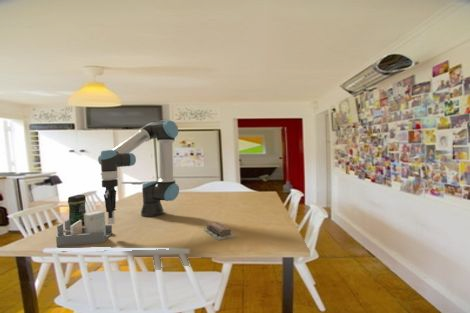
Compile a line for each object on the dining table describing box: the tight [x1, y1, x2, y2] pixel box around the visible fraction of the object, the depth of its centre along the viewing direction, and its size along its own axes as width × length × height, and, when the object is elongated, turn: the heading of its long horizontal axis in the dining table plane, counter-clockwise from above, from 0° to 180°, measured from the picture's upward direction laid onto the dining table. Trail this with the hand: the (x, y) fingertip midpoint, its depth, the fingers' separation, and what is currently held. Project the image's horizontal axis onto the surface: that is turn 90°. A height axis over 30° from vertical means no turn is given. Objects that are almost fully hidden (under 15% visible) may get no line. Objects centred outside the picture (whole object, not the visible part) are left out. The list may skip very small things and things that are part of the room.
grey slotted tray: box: [55, 218, 113, 247], centre depth 135 cm, size 22×14×10 cm, turn 99°
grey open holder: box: [63, 220, 83, 235], centre depth 134 cm, size 9×10×8 cm
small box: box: [84, 210, 106, 236], centre depth 135 cm, size 8×6×13 cm
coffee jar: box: [67, 194, 87, 226], centre depth 162 cm, size 10×8×19 cm
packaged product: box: [203, 221, 236, 241], centre depth 138 cm, size 18×5×10 cm
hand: (111, 223), depth 136 cm, fingers closed
